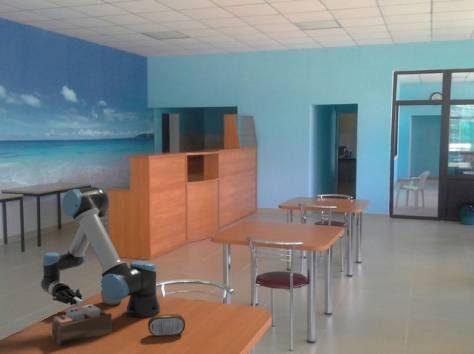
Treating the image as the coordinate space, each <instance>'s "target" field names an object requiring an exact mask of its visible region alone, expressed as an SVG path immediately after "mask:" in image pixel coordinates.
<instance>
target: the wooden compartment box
mask: <svg viewBox="0 0 474 354" xmlns="http://www.w3.org/2000/svg"><path fill="white" fill-rule="evenodd" d="M70 319H71V318H70ZM72 320H73V319H72ZM112 330H113V329H112V313H106V311H103V310H101V309H100V316H97V317H93V318H92V317H91V316H89V315H88V314H84V320H81V321H77V322H76V321H74V320H73V323H69V324H65V325H61V326H60V325H59V324H57V323H56V322H55V321H54V320H53V321H51V339H52V340H53V341H54V342H56V343H57V344H58V345H59V346H61V347H64V346H65V347H66V346H69V345H73V344H75V343H80V342H84V341H87V340H90V339H94V338H98V337H102V336H106V335H109V334H112Z"/></svg>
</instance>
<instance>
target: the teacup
mask: <svg viewBox="0 0 474 354" xmlns="http://www.w3.org/2000/svg"><path fill="white" fill-rule="evenodd" d="M99 291H100V295H101V297H100V298H101V301H102V302H103V304H105V305H107V306H116V305H119V304H120V303H121V302H122V301H123V300H124V298H123V299H118V300H113V299H110V298H108V297H107V296H106V295H105V294H104V293H103V291H102V288H101V287H100V289H99Z"/></svg>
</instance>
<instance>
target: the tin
mask: <svg viewBox="0 0 474 354" xmlns="http://www.w3.org/2000/svg"><path fill="white" fill-rule="evenodd" d="M147 328H148V331H149V333H150V334H151V335H152V336H154V337H170V336H173V337H174V336H179V335H181V334H182V333H183V332H184V331H185V329H186V319H185V318H184V317H183V316H182V315H181V314H179V313H178V314H177V313H174V314H171V313H170V314H168V313H167V314H156V315H154V316H151V318H149V320H148V323H147Z"/></svg>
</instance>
